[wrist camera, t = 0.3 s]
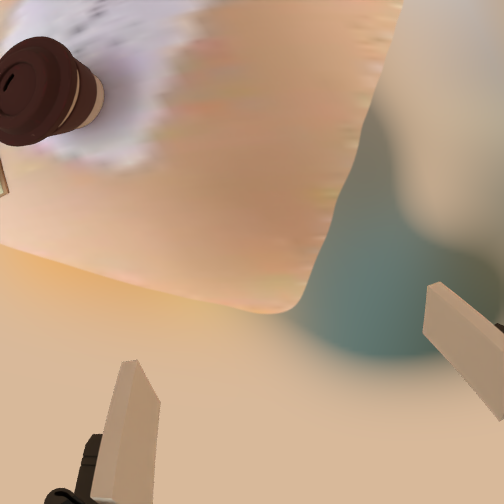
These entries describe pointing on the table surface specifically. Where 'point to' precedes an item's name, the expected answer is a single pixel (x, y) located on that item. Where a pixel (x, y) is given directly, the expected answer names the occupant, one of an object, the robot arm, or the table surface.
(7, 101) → the coffee cup
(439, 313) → the robot arm
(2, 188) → the stair
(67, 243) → the table surface
